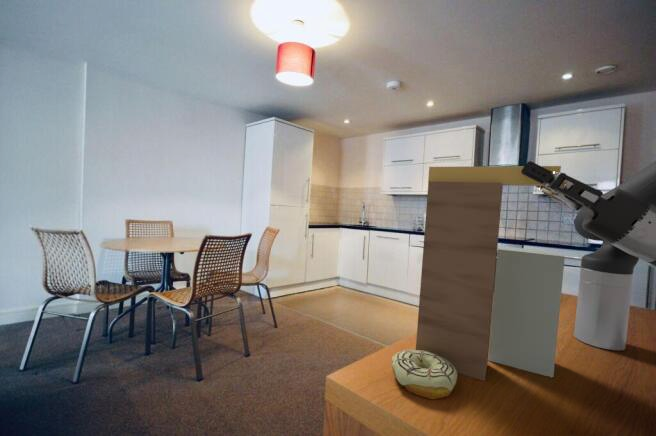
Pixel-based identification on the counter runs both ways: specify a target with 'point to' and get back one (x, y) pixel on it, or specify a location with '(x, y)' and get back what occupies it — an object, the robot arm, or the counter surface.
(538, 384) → the counter surface
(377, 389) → the counter surface
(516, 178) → the ochre bar
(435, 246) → the walnut pillar
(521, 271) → the grey-green block
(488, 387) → the counter surface
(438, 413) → the counter surface
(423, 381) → the decorated donut
